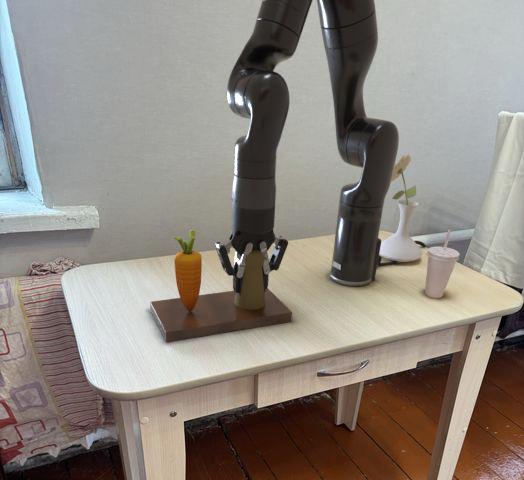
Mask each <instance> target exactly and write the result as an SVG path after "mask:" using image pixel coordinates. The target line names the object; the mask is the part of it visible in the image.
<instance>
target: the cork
mask: <svg viewBox="0 0 524 480" xmlns="http://www.w3.org/2000/svg"><path fill="white" fill-rule="evenodd" d="M237 258H238V259H239V260H241V258H242V256H240V255H239V254H238V255H237ZM264 261H265V257H264V254H263V253H261V252H260V250H252V251H251V253H250V254H248V255H246V259H245V265H246V266H244V267H245V269H244V273H243V276H242V278H243V282H242V288H241V294H240V296H239V293H236V294H235V300H234V304H235V305H236V306H237V307H239V308H242V309H247V310H255V309H260V308H262V307H264V306H265V293H264V283H263V270H262V266H263V264H264Z"/></svg>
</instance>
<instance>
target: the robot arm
mask: <svg viewBox="0 0 524 480" xmlns="http://www.w3.org/2000/svg"><path fill="white" fill-rule="evenodd" d="M312 3H313V0H261V4H260V7H259V10H258V13H257V17H256V20H255V23H254V27H253V31H252V33H251V35H250V37H249V39H248V40H247V41H246V44H245V45H244V47H243V48H242V51H241V52H240V54H239V56H238V58H237V60H236V62H235V64H234V66H233V67H232V69H231V72H230V74H229V77H228V81H227V85H226V100H227V104H228V107H229V109H230V110H231V112H232V113H233V114H235V115H236V116H238V117H240V118H244V119H248V120H250V123H249V128H248V132H247V134H246V135H243V136H239V137H238V138H237V139H236V141H235V142H234V149H233V179H232V185H231V186H232V187H231V233H230V235H229V237H228V239H227V240H225V241H222V242H220V241H216V242H215V243H214V247H215V250H216V253H217V256H218V259H219V261H220V264H221V268H222V269H223V271H224V272H225V273H226V274H227V275H228V276H229V277H231V276H232V289H233V291H235V292H236V293H239V296H240V294H241V288H242V282H243V278H242V276H243V273H244V269H245V267H244V266H246V265H245V259H246V255H248V254H250V253H251V251H252V250H260V252H261V253H263V254H264V257H265V261H264V264H263V266H262V270H263V283H264V292H265V289H267V288H268V289H269V275H270V274H271V272H273V271H278V270H279V269H280V266H281V264H282V261H283V259H284V256H285V254H286V251H287V248H288V245H289V241H288V240H287V239H286V238H285V237H283V236H281V235H278V236H276V234H275V232H274V228H275V215H276V200H277V199H276V198H277V183H276V181H277V180H276V173H277V154H278V153H277V152H278V147H279V145H280V142H281V138H282V136H283V131H284V128H285V125H286V121H287V118H288V114H289V111H290V101H291V98H290V90H289V86H288V83H287V81H286V80H285V78H284V76H282V74H280V73H279V72H277V71H275V69H276V67H277V66H278V65H280V63H282V62H285V61H288V60H290V59H291V58H292V57H293V56H294V55H295V53H296V51H297V49H298V45H299V42H300V39H301V36H302V34H303V31H304V28H305V24H306V22H307V18H308V15H309V12H310V9H311V6H312ZM316 4H317V12H318V19H319V25H320V30H321V36H322V41H323V48H324V51H325V56H326V61H327V68H328V73H329V81H330V88H331V94H332V102H333V111H334V125H335V127H334V128H335V138H336V139H335V140H336V146H337V151H338V154H339V157H340V158H341V160H342V161H343V162H344V163H345V164H347V165H349V166H353V167H356V168H361V169H362V170H361V175H360V178H359V180H358V181H357V182H352V183H347V184H345V185H343V186H342V187H341V189H340V192H339V193H340V194H339V201H338V209H337V217H336V224H335V225H336V226H335V235H334V242H333V251H332V259H331V267H330V272H329V278H330V279H331V280H332V281H333V282H335V283H338V284H341V285H344V286H348V287H349V286H350V287H361V286H362V287H363V286H367V285H369V284H370V283H371V282H374V281H376V275H377V270H378V267H386V266H393V265H396V264H398V263H400V262H399V261H393V260H390V261H387V262H382V260H383V257H382V256H380V255H379V253H380V247H381V242H382V239H381V238H379V235H380V229H381V225H382V223H381V222H382V216H383V211H384V206H385V205H384V204H385V199H386V196H387V195H388V192H389V189H390V187H391V183H392V182H391V178H392V174H393V169H394V165H395V164H396V161H397V157H398V151H399V144H400V136H399V135H400V133H399V130H398V127H397V125H396V124H395V123H394V122H393V121H390V120H386V119H381V118H374V117H373V118H372V117H368V116H367V114H366V109H365V102H364V86H365V82H366V79H367V75H368V73H369V71H370V68H371V66H372V65H373V61H374V59H375V56H376V53H377V48H378V43H379V32H378V31H379V29H378V21H377V12H376V11H377V10H376V3H375V0H316ZM414 241H415V243H416V244H417V245H418V246H419V245H420V246H421V247H422V248H427V245H426V244H425V243H424V242H423V241H420V240H414ZM272 246H273V247H272ZM231 247H232V248H233V250H234V251H235V254H234V257H233V260H234V262H233V265H232V262H231V260H230V256H229V254H230V253H231ZM271 247H272V248H273V249H272V250H271V254H270V256H269V253H268V251H269V250H270V248H271ZM238 254H239V255H240V256H242V258H241V260H239V259H238V258H237V255H238Z"/></svg>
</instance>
